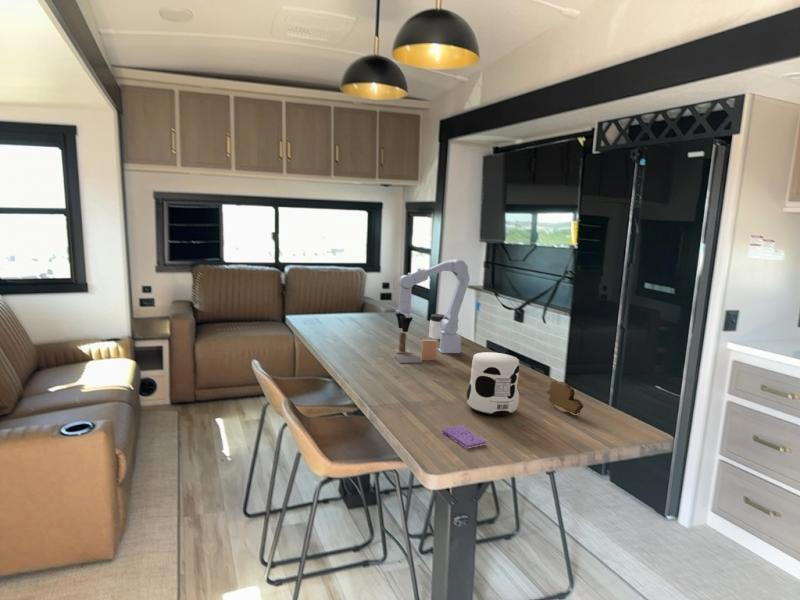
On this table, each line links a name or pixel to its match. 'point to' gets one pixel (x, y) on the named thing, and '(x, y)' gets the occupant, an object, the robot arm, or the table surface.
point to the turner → (402, 345)
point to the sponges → (464, 436)
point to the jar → (435, 326)
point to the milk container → (494, 384)
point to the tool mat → (408, 360)
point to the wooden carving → (564, 397)
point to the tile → (429, 349)
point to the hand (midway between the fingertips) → (403, 330)
